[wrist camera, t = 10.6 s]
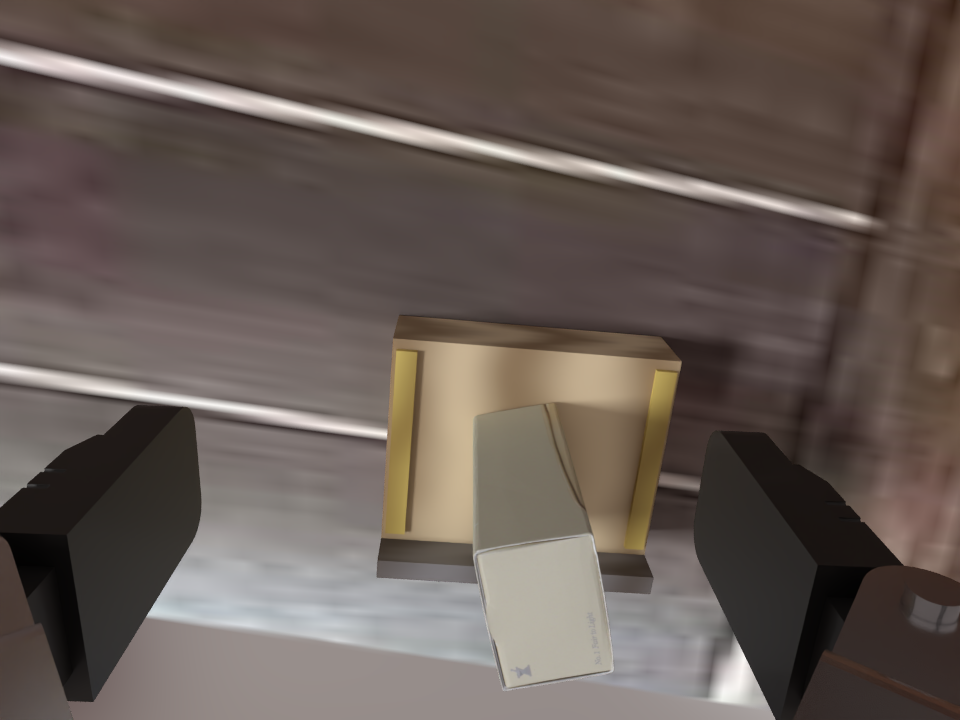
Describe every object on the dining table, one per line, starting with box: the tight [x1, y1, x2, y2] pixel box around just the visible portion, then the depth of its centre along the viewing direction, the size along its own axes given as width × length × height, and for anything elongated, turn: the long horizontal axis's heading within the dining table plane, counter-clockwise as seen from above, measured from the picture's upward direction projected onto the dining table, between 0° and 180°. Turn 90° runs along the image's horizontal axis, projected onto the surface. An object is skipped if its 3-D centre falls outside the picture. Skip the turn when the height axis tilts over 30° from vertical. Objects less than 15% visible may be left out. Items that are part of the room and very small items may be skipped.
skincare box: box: [473, 403, 614, 691], centre depth 32 cm, size 6×4×12 cm
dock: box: [377, 315, 682, 594], centre depth 39 cm, size 14×12×6 cm
